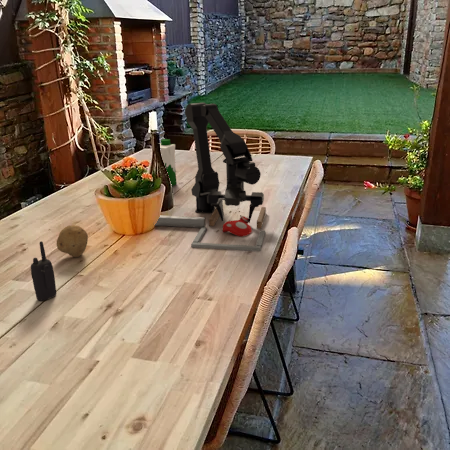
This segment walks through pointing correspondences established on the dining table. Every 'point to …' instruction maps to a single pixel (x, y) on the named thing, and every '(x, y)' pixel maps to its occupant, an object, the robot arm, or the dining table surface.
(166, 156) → the milk carton
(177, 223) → the bar
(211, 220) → the stall
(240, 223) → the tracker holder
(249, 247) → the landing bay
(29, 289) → the dining table surface
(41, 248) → the two-way radio
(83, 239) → the potato
